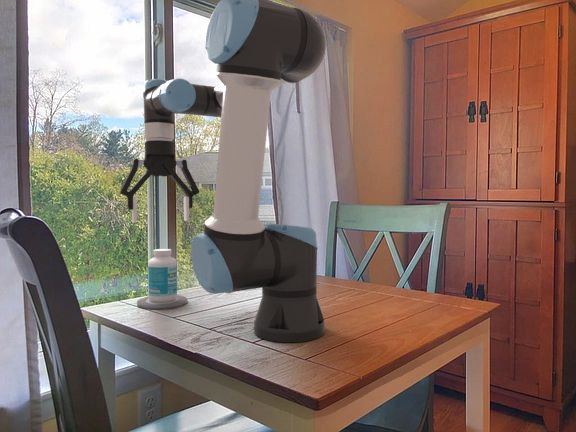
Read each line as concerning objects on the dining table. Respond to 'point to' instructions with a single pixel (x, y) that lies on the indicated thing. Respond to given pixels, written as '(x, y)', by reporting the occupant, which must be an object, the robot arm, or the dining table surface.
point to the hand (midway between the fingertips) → (161, 221)
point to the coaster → (161, 303)
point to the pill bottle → (162, 276)
